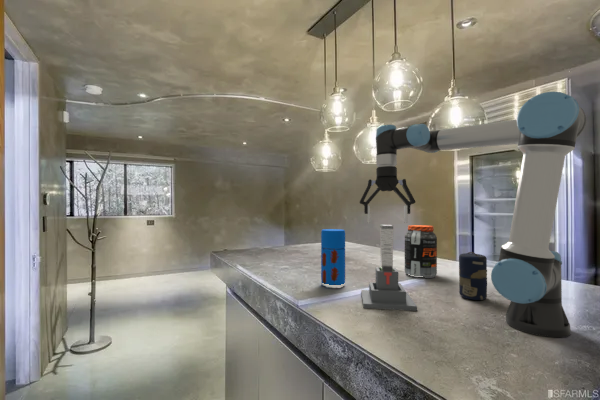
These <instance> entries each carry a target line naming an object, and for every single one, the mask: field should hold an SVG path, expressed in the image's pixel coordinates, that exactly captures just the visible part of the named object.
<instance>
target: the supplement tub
mask: <svg viewBox="0 0 600 400" xmlns="http://www.w3.org/2000/svg"><path fill="white" fill-rule="evenodd" d="M437 238H438V237H437V234H436V233H435V232H434V225H425V224H423V225H420V224H419V225H418V224H416V225H415V224H413V225H412V224H409V225H408V226H407V231H406V233H405V234H404V273H405V274H406V273H407V274H410V275H414V276H423V277H425V278H424V279H429V278H430V279H433V278H435V277H437V275H438V265H437V264H438V239H437ZM407 274H406V275H407Z"/></svg>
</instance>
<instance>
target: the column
mask: <svg viewBox="0 0 600 400" xmlns="http://www.w3.org/2000/svg"><path fill="white" fill-rule="evenodd" d="M379 228H380V239H379V241H380V266H379V267H380V270H381V271H383V267H392V271H393V268H394V260H393V259H394V256H393V255H394V254H393V253H394V247H393V245H394V241H393V240H394V239H393V237H394V236H393V235H394V233H393V232H394V231H393V230H394V225H392V224H380V225H379Z"/></svg>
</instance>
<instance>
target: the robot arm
mask: <svg viewBox="0 0 600 400" xmlns="http://www.w3.org/2000/svg"><path fill="white" fill-rule="evenodd" d="M586 126H587V115H586V113H585V111H584V110H583V109H582V107H580V105H579V103H578V101H577V99H576V98H575V97H573V96H572V95H569V94H566V93H564V92H561V91H553V90H552V91H546V92H542V93H539V94H536V95H534V96H533V97H531V98H529V99H528V100H527V101H526V102H525V103H523V105H522V106H521V107H520V109H519V110H518V112H517V115H516V119H510V120H502V121H497V122H490V123H489V122H488V123H481V124H475V125H467V126H458V127H453V128H452V127H451V128H443V129H439V130H438V129H437V130H430V128H429V127H428V126H427V124H425V123H416V124H411V125H408V126H403V127H399V128H397V126H396V125H394V124H383V125H379V126H378V127H377V128H376V131H375V145H376V146H375V147H376V149H375V152H376V153H375V154H376V155H375V156H376V157H375V158H376V159H375V164H376V165H375V166H377V167H376V168H375V170H376V172H375V174H376V179H373V180H372V179H368V181H367V186H366V188H365V191H364V193H363V194H362V196H361V198H360V200H359V204H360V205H362V206H364V209H363V211H364V214H365V215H367V216H366V217H367V223H368V224H370V223H371V206H370V205H369V204H370V203H371V201H372V200H373V199H374V198H375V197H376V196H377V194H379V192H392V191H393V192H394V193H395V194H396V195H397V196H398V197H399V198H400V200H401V201H402V202H403V203H404V204H405V205H403V222H404V223H405V224H408V223H409V221H408V217H409V216H408V215H410V214H411V206H412V205H413V204H415V203H416V200H415V198H414V196H413V194H412V192H411V191H410V189H409V187H408V184H407V179H406V178H403V179H398V168H397V165H398V160H397V159H398V158H397V155H398V151H397V150H402V149H403V150H404V149H415V150H419V151H423V152H424V153H431V154H432V153H433V154H434V153H437V152H440V151H447V150H449V151H451V150H461V149H473V148H483V147H484V148H485V147H497V146H508V145H517V149H518V150H519V151H520V152H521V153H522V155H523V156H522V160H521V167H520V171H519V179H518V184H517V190H516V194H515V195H516V196H515V203H514V207H513V215H512V219H511V224H510V225H511V226H510V231H509V238H508V241H507V242H506V243H503V244H502V245H501V246H500V252H499V256H498V257H499V258H498V261H497V262H496V263H495V265H494V266H493V268H492V269H491V274H490V279H491V283H492V285H493V288H494V289H495V290H496V291H497V293H498V294H499V295H501V296H502V297H503V298H504V299H506V300H509V301H510V302H509V305H508V308H507V310H506V313H505V322H506V324H507V325H508V326H510V327H512V328H513V329H515V330H518V331H522V332H523V333H528V334H531V335H535V336H542V337H547V338H548V337H549V338H566V337H569V336H570V335H571V324H570V322H569V319H568V317H567V314H566V312H565V310H564V307H563V301H562V299H563V298H562V297H563V295H562V293H563V292H562V286H563V285H562V265H563V261H562V257H561V254H560V253H559V252H557V251H554V250H550V241H551V236H552V231H553V225H554V220H555V214H556V208H557V203H558V198H559V192H560V187H561V182H562V175H563V169H564V165H565V160H566V159H565V158H566V156H567V155H568V154H569V153H571V152H573V151H574V150H575V148H576V142H577V138H578V137H579V136H581V134H582V133H583V132H584V130H585V128H586ZM374 184H375V185H376V187H377V188H376V189H375V190H374V191H373V192H372V194H371V195H370V196H368V198H367V195H368V194H369V191H370V190H371V187H372V186H374ZM398 184H399V185H400V186H402V188H403V191H404V192H405V194H406V196H405V195H404V194H403V193H402V192H401V191H400V190H399V188H397V185H398ZM366 198H367V199H366ZM365 199H366V201H365Z"/></svg>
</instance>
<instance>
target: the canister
mask: <svg viewBox="0 0 600 400" xmlns="http://www.w3.org/2000/svg"><path fill="white" fill-rule="evenodd" d="M458 258H459V259H458V276H459V281H458V284H459V287H458V288H459V291H458V292H459V296H460V297H462V298H464V299H467V300H473V301H482V300H484V301H485V300H486V299H487V297H488V294H487V293H488V276H487V275H488V269H487V267H488V265H487V263H488V261H487V260H488V259H487V256H485V255H484V254H480V253H476V252H473V251H469V252H468V251H467V253H466V252H465V253H464V252H463V253H460V254H459V257H458Z"/></svg>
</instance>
